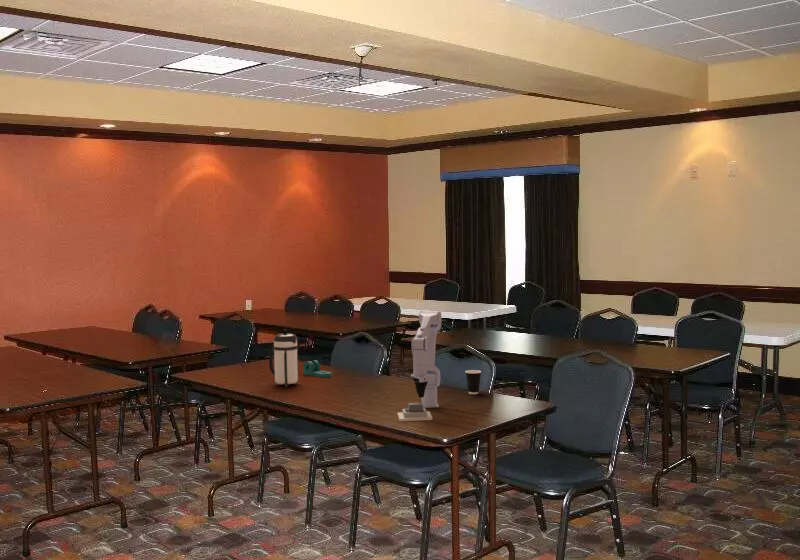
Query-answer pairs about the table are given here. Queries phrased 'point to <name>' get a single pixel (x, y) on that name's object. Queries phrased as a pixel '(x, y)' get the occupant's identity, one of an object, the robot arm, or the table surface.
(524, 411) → the table surface
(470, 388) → the dixie cup
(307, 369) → the bracket
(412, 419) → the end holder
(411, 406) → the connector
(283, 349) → the coffee press
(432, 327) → the robot arm
